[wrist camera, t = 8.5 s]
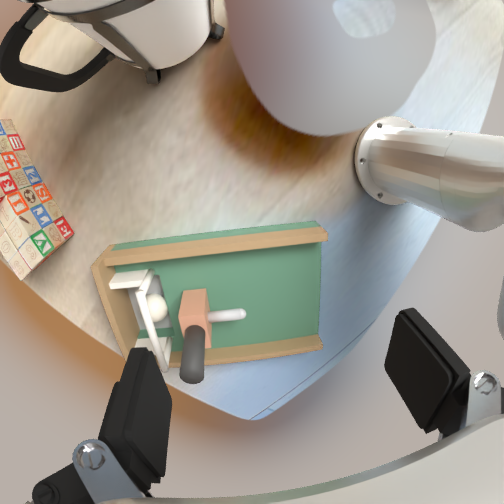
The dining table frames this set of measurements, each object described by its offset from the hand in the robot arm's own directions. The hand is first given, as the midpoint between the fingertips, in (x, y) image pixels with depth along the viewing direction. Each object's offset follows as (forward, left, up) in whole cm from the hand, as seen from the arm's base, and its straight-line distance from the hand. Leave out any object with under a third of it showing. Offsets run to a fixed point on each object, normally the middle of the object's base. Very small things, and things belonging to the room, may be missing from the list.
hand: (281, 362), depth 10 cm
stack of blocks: (+30, -7, -29) cm, 42 cm away
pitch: (+4, +13, -28) cm, 31 cm away
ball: (+13, +13, -26) cm, 32 cm away
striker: (+4, +13, -25) cm, 29 cm away
